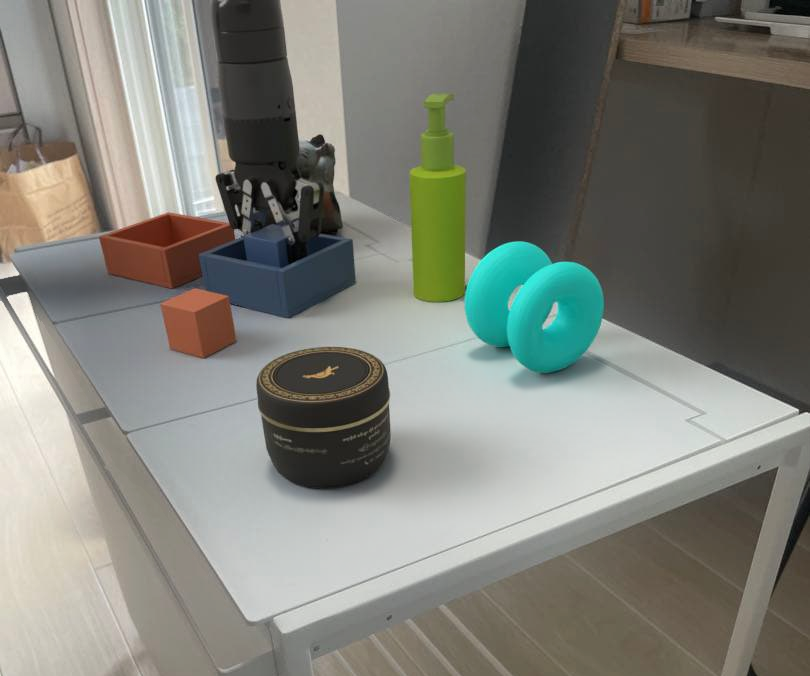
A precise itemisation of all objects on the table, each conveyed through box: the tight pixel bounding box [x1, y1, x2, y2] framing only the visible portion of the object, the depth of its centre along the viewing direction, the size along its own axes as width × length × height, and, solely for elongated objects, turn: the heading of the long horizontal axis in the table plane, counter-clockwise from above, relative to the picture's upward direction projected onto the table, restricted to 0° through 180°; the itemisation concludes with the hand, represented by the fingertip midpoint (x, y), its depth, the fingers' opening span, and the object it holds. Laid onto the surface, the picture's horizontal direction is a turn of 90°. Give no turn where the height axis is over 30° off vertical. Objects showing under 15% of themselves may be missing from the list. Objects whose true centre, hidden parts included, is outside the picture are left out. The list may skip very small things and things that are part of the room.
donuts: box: [464, 241, 605, 374], centre depth 78 cm, size 10×10×10 cm
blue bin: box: [199, 233, 357, 319], centre depth 97 cm, size 12×12×5 cm
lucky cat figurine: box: [240, 133, 344, 238], centre depth 112 cm, size 15×12×14 cm
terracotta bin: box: [98, 211, 237, 289], centre depth 105 cm, size 12×12×5 cm
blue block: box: [242, 224, 308, 268], centre depth 96 cm, size 5×5×5 cm
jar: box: [255, 346, 392, 489], centre depth 65 cm, size 10×10×8 cm
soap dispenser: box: [409, 93, 467, 303], centre depth 90 cm, size 6×7×20 cm
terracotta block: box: [160, 287, 237, 359], centre depth 85 cm, size 5×5×5 cm
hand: (279, 271), depth 97 cm, fingers closed on blue block, 5 cm apart
